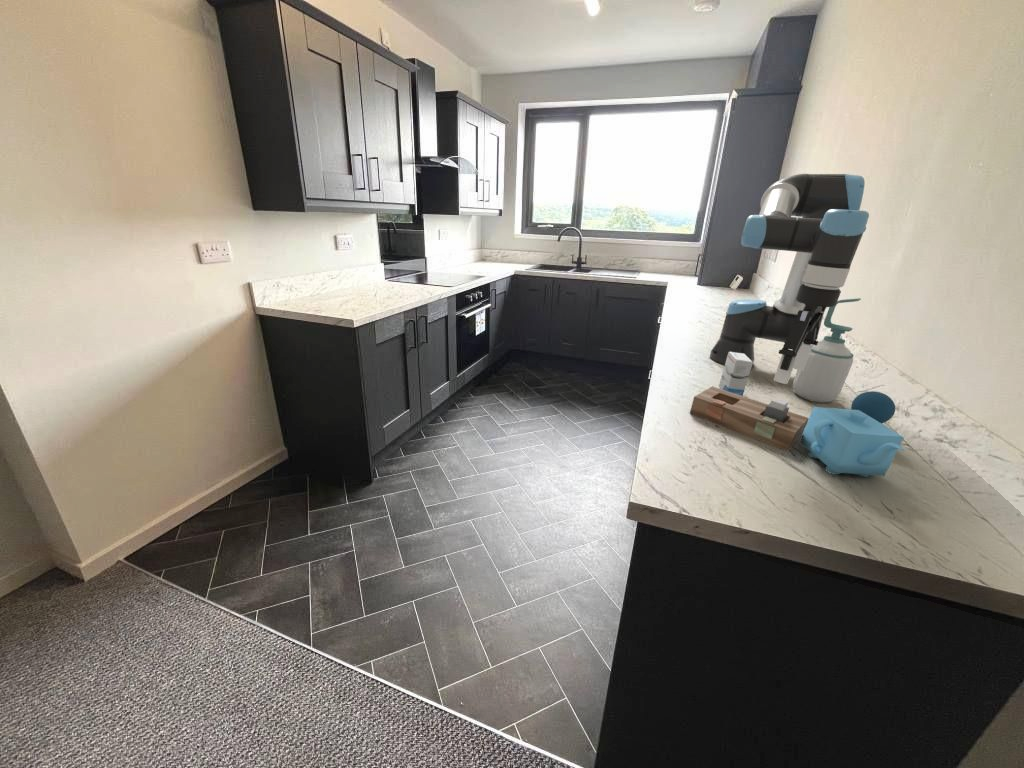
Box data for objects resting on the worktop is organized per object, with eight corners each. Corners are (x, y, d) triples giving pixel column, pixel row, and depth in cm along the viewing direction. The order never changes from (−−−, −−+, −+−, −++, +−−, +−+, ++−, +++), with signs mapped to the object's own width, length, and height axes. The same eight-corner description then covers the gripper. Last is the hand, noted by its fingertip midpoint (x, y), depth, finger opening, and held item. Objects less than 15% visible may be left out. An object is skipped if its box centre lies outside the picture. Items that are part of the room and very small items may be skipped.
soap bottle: (830, 409, 121) (873, 304, 109) (783, 394, 129) (819, 295, 117) (840, 399, 129) (882, 299, 116) (796, 385, 137) (830, 291, 125)
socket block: (708, 401, 120) (712, 385, 118) (802, 435, 104) (809, 417, 102) (689, 413, 112) (693, 395, 110) (787, 451, 96) (795, 432, 94)
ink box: (742, 398, 124) (754, 361, 120) (725, 396, 125) (736, 359, 120) (734, 387, 132) (744, 353, 127) (718, 385, 133) (728, 351, 128)
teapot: (786, 447, 98) (805, 398, 93) (851, 451, 98) (873, 403, 93) (839, 495, 82) (865, 439, 77) (917, 501, 82) (948, 445, 77)
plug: (763, 424, 107) (773, 396, 104) (781, 430, 104) (791, 402, 101) (758, 428, 104) (768, 400, 101) (775, 435, 101) (786, 406, 98)
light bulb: (843, 423, 112) (861, 383, 108) (882, 436, 107) (902, 394, 102) (838, 433, 107) (856, 391, 102) (878, 446, 102) (900, 403, 97)
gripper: (815, 278, 100) (787, 359, 109) (784, 288, 84) (754, 382, 93) (853, 284, 95) (820, 368, 104) (828, 295, 79) (791, 394, 88)
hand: (789, 375), depth 99 cm, fingers open, 13 cm apart
